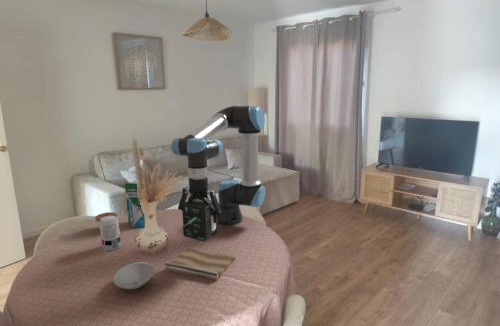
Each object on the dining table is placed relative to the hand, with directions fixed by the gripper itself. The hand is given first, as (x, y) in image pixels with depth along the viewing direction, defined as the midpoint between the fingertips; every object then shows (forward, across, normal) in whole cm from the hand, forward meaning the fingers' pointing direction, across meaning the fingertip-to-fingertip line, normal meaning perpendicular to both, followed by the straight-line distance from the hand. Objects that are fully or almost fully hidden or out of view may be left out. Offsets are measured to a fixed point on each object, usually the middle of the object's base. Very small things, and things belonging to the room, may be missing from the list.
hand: (200, 227), depth 138 cm
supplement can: (+18, -49, 0) cm, 52 cm away
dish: (+18, -17, -21) cm, 33 cm away
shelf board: (+18, -1, +1) cm, 18 cm away
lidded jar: (+18, -67, +16) cm, 71 cm away
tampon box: (+3, 0, 0) cm, 3 cm away
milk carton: (+18, -55, +28) cm, 64 cm away
